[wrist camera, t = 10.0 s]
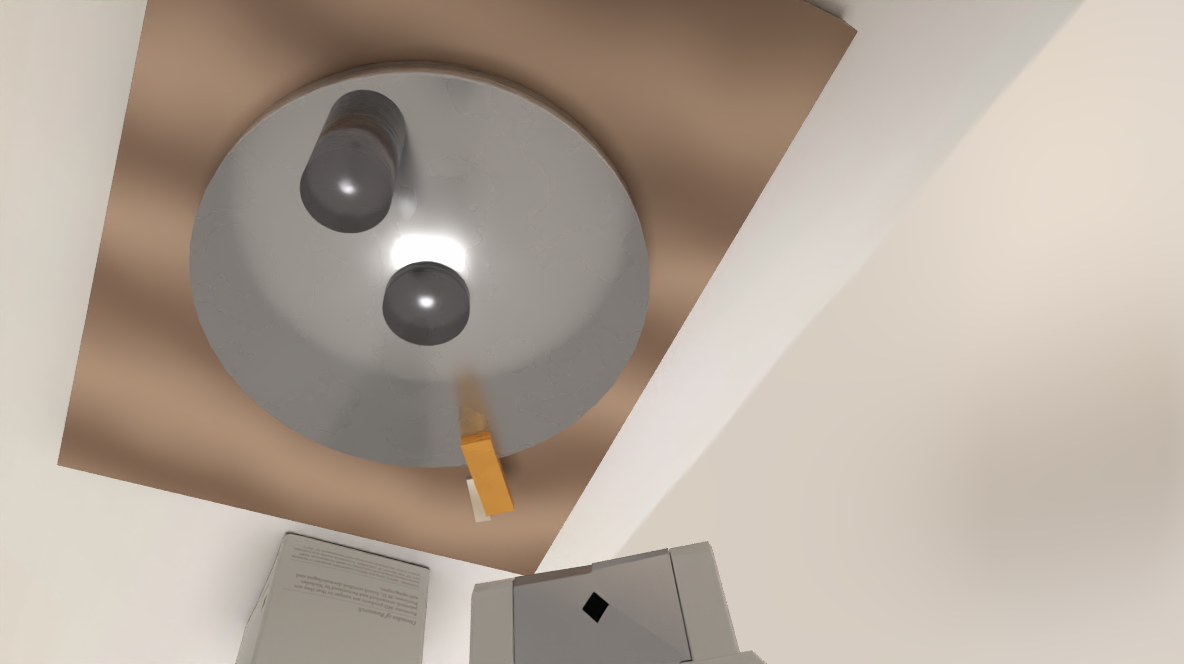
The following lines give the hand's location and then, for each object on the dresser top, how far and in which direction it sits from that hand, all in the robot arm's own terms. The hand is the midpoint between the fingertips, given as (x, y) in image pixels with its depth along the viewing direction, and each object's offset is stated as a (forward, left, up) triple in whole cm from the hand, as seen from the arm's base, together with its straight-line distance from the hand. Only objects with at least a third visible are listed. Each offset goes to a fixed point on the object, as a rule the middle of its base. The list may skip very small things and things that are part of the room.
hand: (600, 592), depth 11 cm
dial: (+9, 0, -21) cm, 23 cm away
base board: (+8, -1, -23) cm, 25 cm away
